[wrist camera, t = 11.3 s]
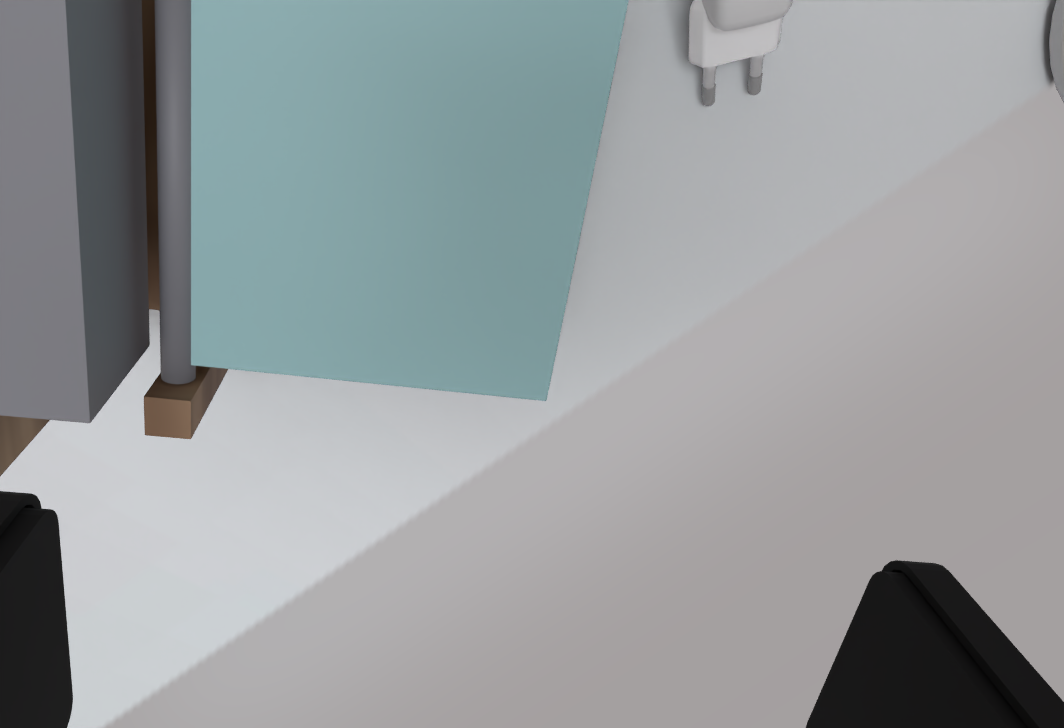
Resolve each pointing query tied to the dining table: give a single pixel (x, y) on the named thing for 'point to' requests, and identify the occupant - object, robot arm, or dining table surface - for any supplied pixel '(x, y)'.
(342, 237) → the flap
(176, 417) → the stand
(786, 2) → the power adapter
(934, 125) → the dining table surface
